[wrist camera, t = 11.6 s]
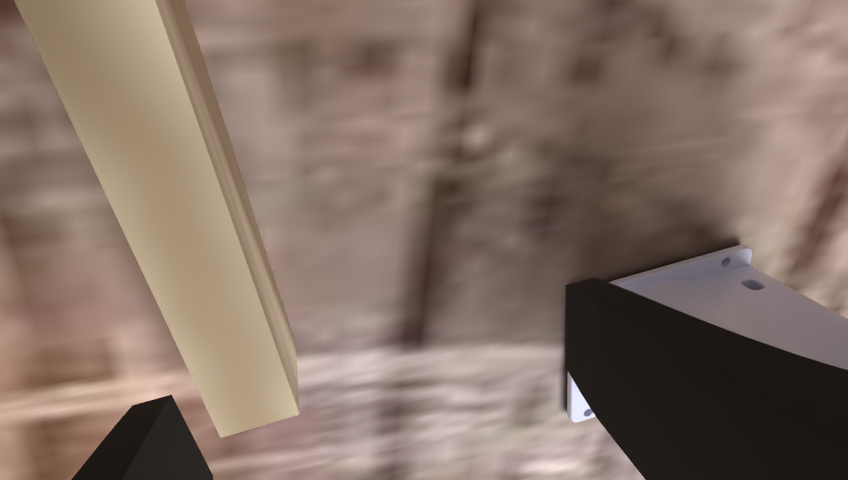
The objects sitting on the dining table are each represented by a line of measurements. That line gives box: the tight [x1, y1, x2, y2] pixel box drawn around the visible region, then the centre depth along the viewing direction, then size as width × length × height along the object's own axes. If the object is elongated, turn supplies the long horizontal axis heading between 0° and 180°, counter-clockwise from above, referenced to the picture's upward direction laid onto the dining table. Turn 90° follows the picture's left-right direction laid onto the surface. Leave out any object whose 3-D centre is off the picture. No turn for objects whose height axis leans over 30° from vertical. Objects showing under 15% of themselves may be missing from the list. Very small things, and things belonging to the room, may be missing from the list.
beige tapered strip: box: [14, 0, 300, 438], centre depth 14 cm, size 2×16×4 cm, turn 8°
